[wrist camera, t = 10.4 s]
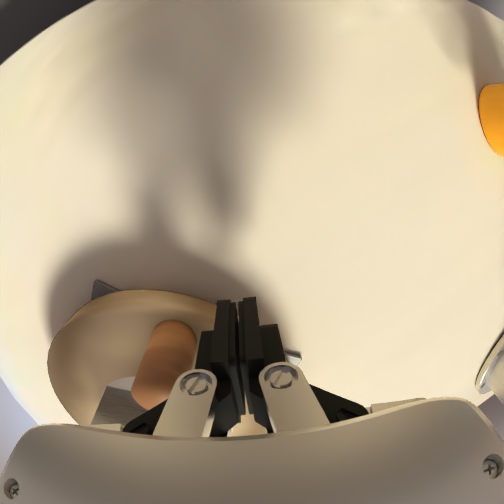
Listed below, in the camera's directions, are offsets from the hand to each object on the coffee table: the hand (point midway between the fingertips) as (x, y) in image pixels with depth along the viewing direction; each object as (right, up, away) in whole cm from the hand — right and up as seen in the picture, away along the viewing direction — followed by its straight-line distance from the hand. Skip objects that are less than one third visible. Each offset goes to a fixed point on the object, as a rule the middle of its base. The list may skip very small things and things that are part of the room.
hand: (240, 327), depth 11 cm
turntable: (-6, -7, +6) cm, 11 cm away
